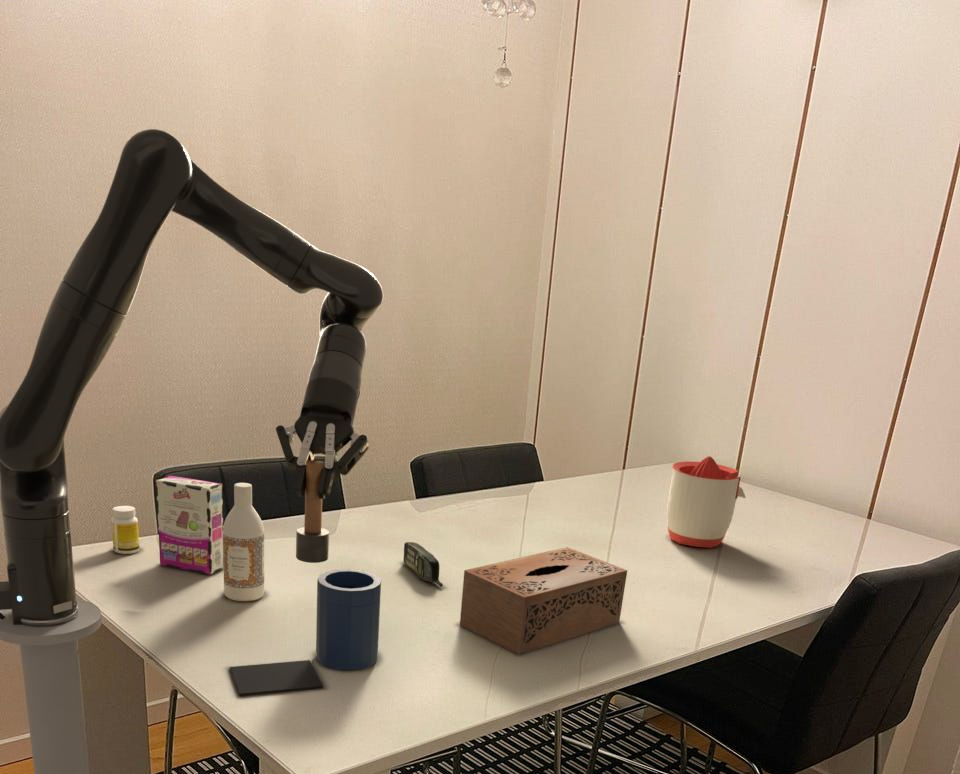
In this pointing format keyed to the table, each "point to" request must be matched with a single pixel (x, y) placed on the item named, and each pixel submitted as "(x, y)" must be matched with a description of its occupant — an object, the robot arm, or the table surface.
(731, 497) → the citrus juicer
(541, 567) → the tissue box cover
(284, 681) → the mat
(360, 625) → the blue pen holder
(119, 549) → the supplement bottle
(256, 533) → the bath foam
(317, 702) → the table surface
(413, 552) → the mobile phone
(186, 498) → the candy bar box
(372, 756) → the table surface
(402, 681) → the table surface
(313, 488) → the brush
